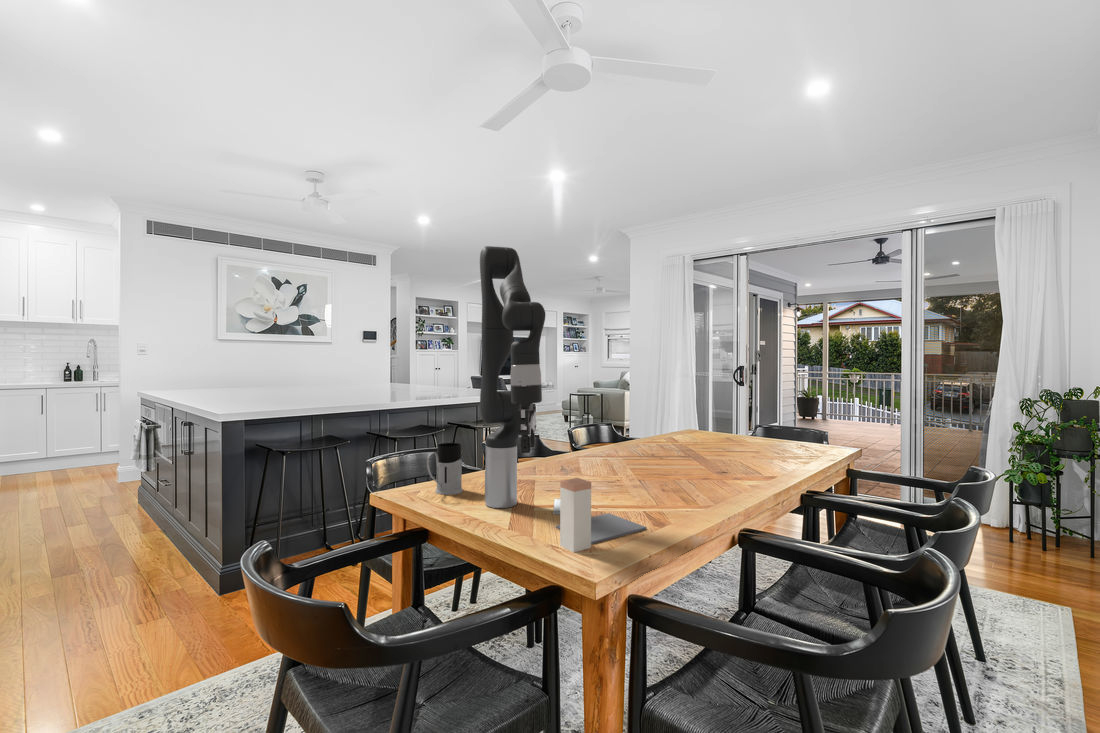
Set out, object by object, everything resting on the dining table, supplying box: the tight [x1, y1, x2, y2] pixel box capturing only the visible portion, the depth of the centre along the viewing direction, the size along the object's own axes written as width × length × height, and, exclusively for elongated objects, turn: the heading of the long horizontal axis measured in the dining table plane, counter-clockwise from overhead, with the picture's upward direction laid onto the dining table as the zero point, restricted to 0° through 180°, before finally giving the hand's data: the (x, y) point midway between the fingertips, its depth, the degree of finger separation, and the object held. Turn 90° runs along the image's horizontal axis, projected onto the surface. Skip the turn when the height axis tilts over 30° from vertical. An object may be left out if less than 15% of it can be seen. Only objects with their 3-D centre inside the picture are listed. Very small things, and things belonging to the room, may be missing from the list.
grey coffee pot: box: [426, 442, 464, 496], centre depth 162 cm, size 9×14×15 cm, turn 150°
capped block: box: [559, 477, 592, 553], centre depth 116 cm, size 5×5×15 cm
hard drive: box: [552, 498, 560, 515], centre depth 147 cm, size 2×8×12 cm
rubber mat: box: [555, 512, 648, 545], centre depth 129 cm, size 14×18×1 cm
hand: (528, 449), depth 124 cm, fingers open, 8 cm apart
